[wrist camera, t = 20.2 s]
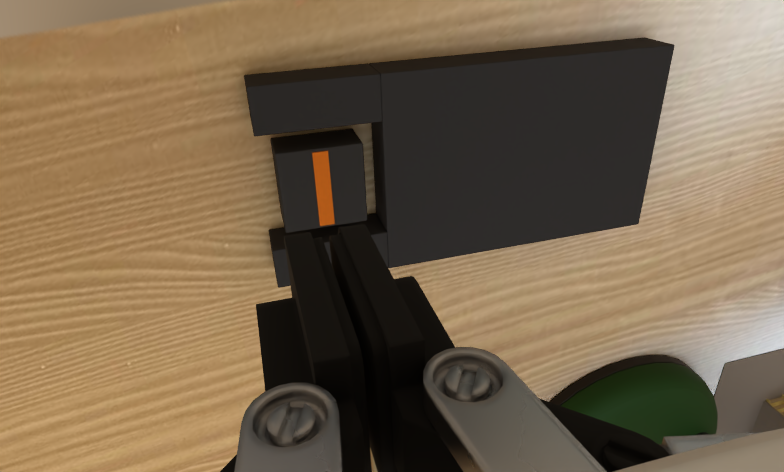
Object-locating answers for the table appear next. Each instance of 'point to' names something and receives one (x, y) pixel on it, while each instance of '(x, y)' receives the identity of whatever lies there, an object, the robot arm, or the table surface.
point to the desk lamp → (646, 398)
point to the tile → (320, 179)
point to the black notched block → (484, 142)
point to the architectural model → (751, 394)
